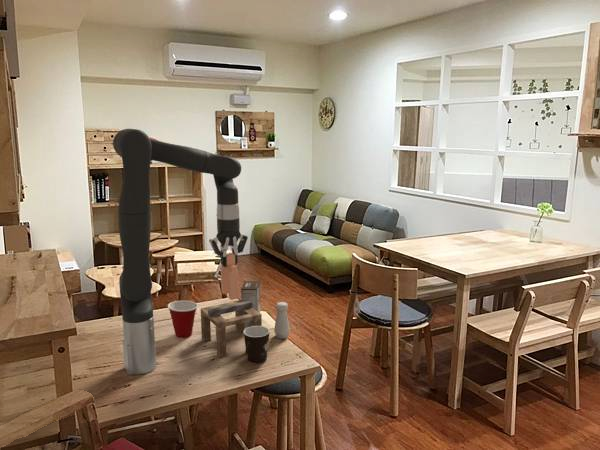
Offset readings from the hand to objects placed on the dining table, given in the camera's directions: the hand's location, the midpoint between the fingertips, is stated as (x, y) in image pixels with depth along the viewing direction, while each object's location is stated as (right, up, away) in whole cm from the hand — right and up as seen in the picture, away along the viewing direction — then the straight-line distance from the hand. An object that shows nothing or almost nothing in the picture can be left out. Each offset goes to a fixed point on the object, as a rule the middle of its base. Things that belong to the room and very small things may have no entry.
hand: (229, 265), depth 171 cm
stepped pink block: (0, -11, +2) cm, 11 cm away
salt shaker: (+18, -27, +12) cm, 35 cm away
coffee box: (+5, -25, +23) cm, 34 cm away
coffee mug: (+9, -31, -6) cm, 33 cm away
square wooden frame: (0, -28, +6) cm, 29 cm away
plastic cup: (-18, -27, +12) cm, 35 cm away
